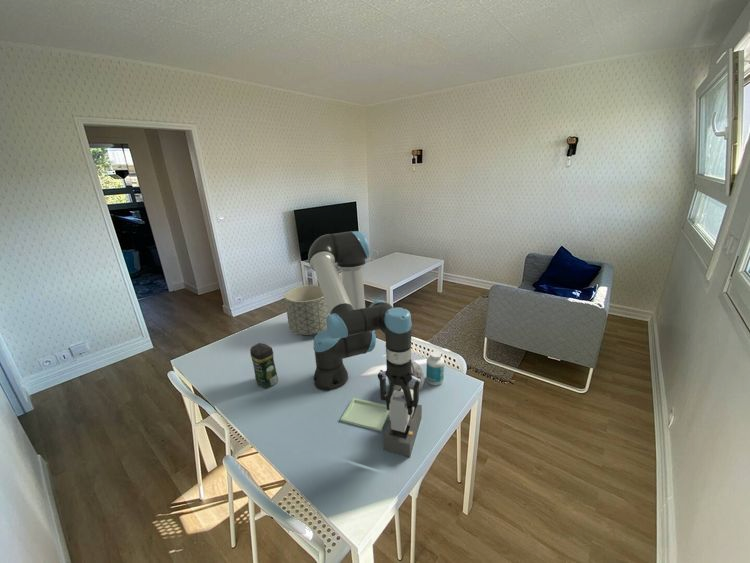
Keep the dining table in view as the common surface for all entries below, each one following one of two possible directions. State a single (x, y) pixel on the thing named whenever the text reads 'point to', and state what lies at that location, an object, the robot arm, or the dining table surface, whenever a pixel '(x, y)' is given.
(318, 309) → the planter
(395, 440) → the charging dock
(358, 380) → the dining table surface
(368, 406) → the tray
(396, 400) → the plug
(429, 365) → the pill bottle
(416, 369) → the decorative orb
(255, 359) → the coffee jar
